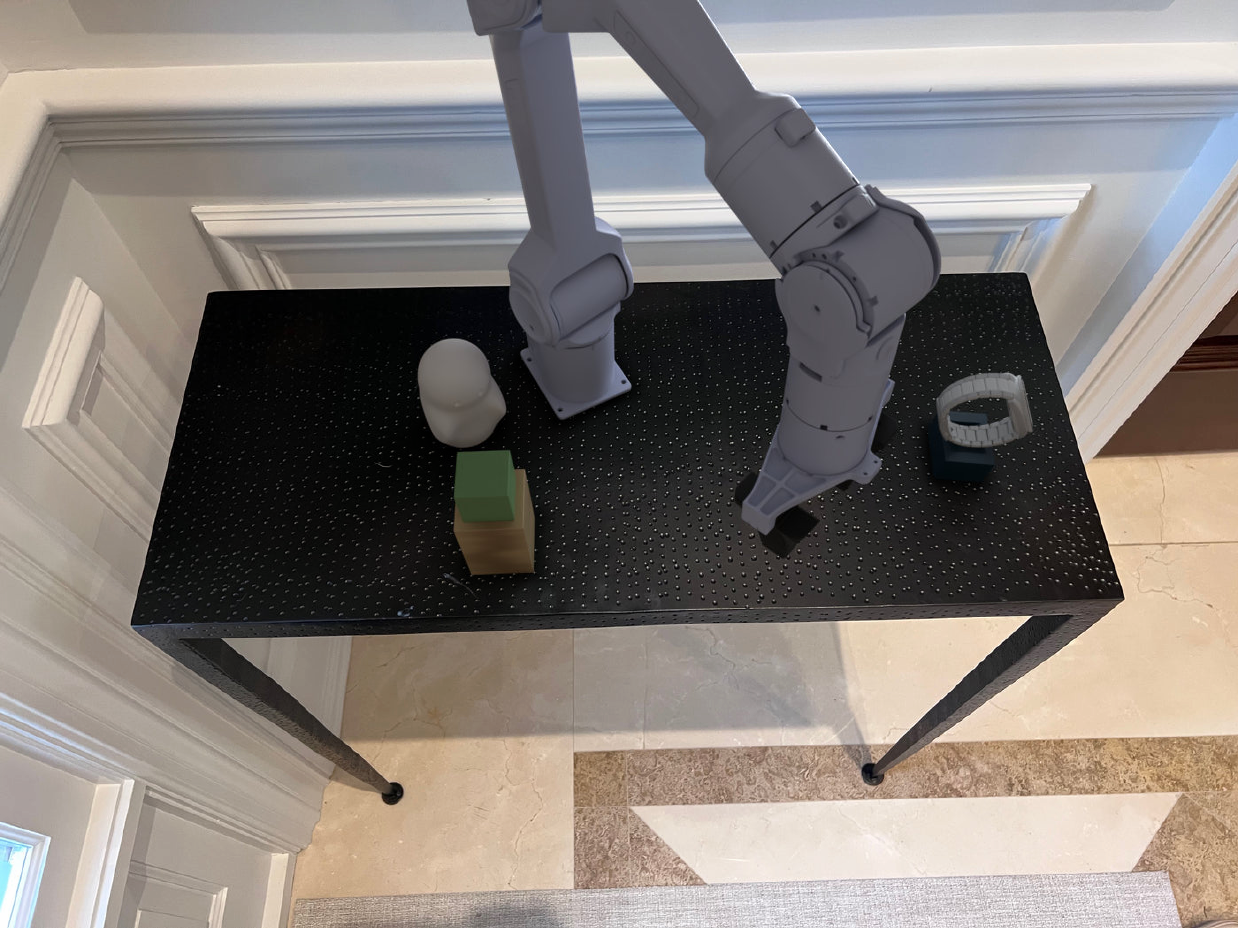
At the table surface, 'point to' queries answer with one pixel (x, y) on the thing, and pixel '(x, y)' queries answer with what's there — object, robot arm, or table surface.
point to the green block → (485, 486)
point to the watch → (975, 426)
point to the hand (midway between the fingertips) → (806, 514)
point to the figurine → (459, 393)
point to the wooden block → (500, 537)
